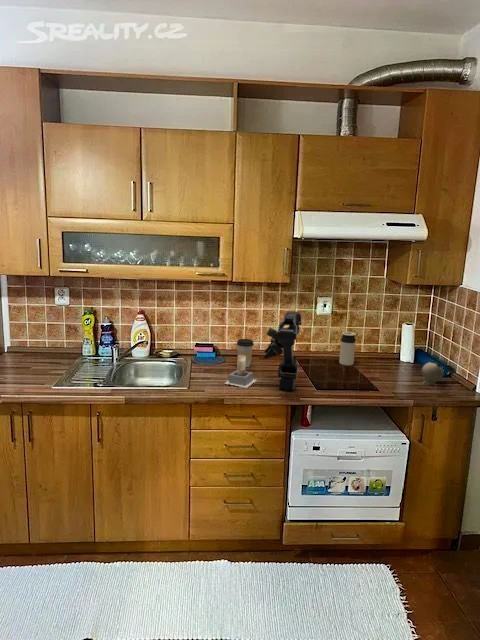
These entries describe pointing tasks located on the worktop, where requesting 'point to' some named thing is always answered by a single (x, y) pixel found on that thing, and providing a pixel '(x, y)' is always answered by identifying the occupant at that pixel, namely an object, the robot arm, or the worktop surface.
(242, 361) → the peg
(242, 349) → the coffee cup
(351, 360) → the travel mug
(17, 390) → the worktop surface
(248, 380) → the socket
